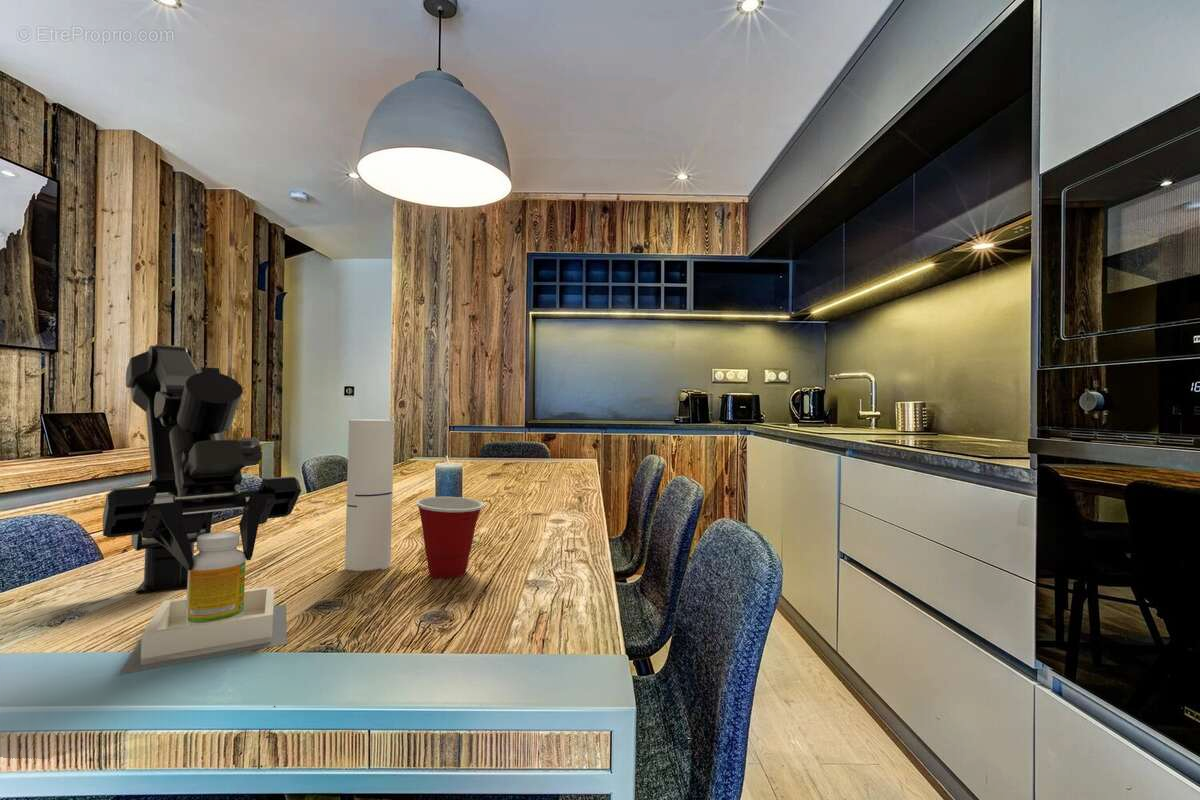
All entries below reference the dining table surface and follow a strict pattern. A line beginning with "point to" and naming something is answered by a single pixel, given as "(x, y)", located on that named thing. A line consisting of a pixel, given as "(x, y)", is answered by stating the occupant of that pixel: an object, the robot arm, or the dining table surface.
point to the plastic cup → (448, 533)
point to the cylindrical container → (369, 495)
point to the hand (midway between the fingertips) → (220, 563)
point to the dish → (207, 629)
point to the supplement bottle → (216, 579)
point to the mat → (277, 639)
